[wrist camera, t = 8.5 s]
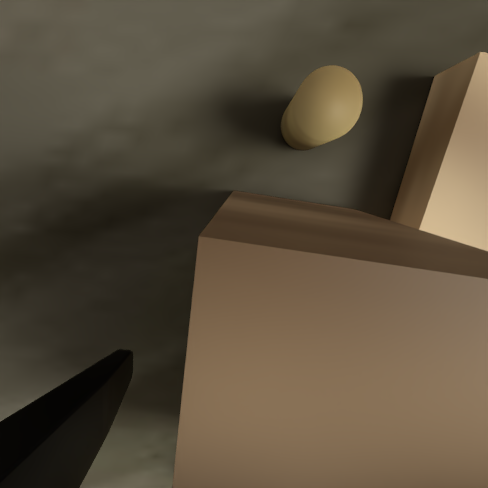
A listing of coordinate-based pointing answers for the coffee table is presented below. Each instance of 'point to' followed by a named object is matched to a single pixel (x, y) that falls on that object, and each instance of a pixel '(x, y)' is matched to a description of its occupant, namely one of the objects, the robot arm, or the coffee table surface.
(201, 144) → the coffee table surface
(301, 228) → the thick tan wooden block
